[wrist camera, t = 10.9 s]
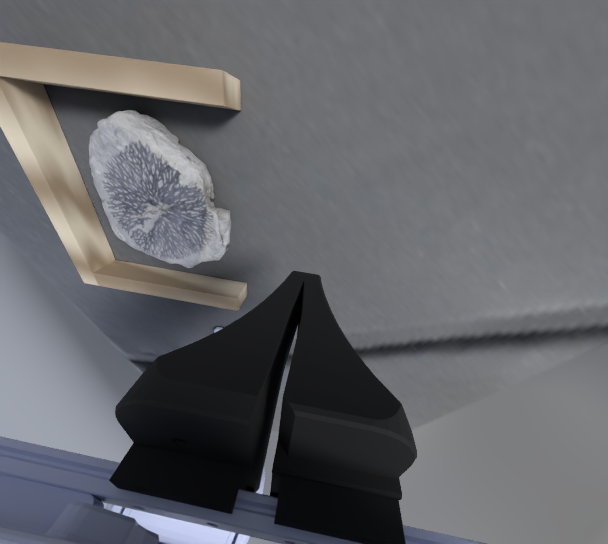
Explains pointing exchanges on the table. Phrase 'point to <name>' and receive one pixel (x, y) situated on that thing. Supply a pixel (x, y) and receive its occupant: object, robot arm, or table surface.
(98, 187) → the fossil
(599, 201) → the table surface
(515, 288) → the table surface
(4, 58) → the bay
